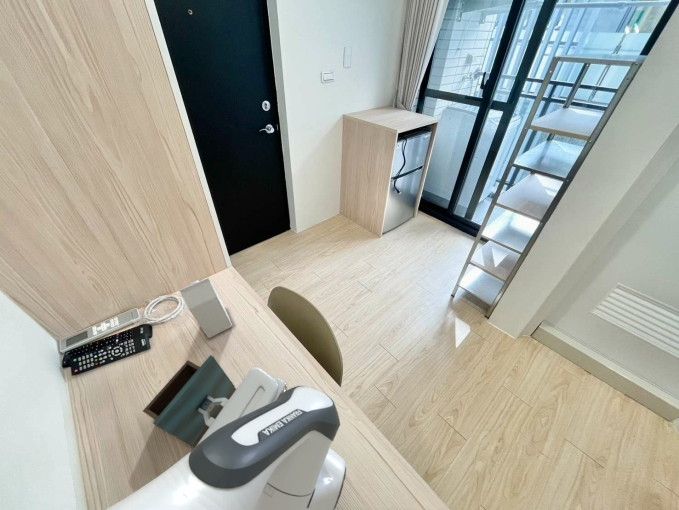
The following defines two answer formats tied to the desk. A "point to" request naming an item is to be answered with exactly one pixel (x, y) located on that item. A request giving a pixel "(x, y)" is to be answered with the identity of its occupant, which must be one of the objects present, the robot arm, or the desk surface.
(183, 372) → the tray box
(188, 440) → the cover
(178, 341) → the desk surface
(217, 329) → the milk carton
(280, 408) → the robot arm
